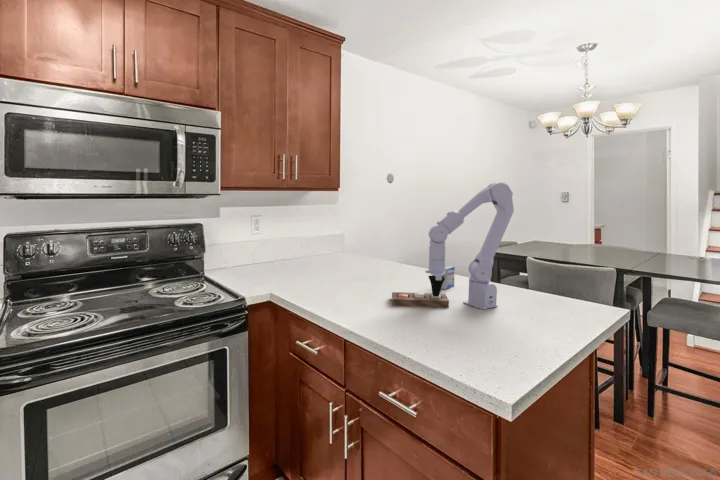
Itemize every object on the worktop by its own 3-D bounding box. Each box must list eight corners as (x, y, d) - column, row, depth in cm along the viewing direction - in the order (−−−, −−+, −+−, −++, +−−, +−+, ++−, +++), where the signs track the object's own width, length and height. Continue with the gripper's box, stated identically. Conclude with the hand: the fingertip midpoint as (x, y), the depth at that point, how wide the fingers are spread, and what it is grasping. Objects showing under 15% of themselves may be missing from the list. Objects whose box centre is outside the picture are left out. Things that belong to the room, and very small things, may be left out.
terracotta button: (407, 300, 147) (407, 294, 146) (407, 303, 143) (408, 296, 143) (397, 300, 147) (397, 293, 147) (397, 302, 143) (398, 296, 143)
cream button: (423, 299, 146) (424, 292, 146) (424, 301, 142) (424, 294, 142) (414, 298, 146) (414, 292, 146) (414, 301, 143) (414, 294, 142)
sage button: (440, 301, 146) (440, 294, 145) (441, 303, 142) (441, 297, 142) (430, 300, 146) (430, 294, 146) (431, 303, 142) (431, 296, 142)
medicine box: (446, 289, 165) (447, 269, 164) (436, 288, 167) (437, 268, 166) (454, 286, 171) (455, 266, 170) (444, 284, 174) (445, 265, 173)
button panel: (445, 300, 149) (445, 293, 148) (448, 307, 139) (448, 300, 138) (391, 298, 150) (392, 292, 150) (391, 306, 140) (391, 299, 140)
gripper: (424, 255, 149) (423, 290, 151) (427, 262, 135) (426, 300, 137) (443, 255, 149) (441, 290, 151) (448, 262, 135) (447, 301, 136)
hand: (435, 295), depth 144 cm, fingers closed, pressing on sage button
